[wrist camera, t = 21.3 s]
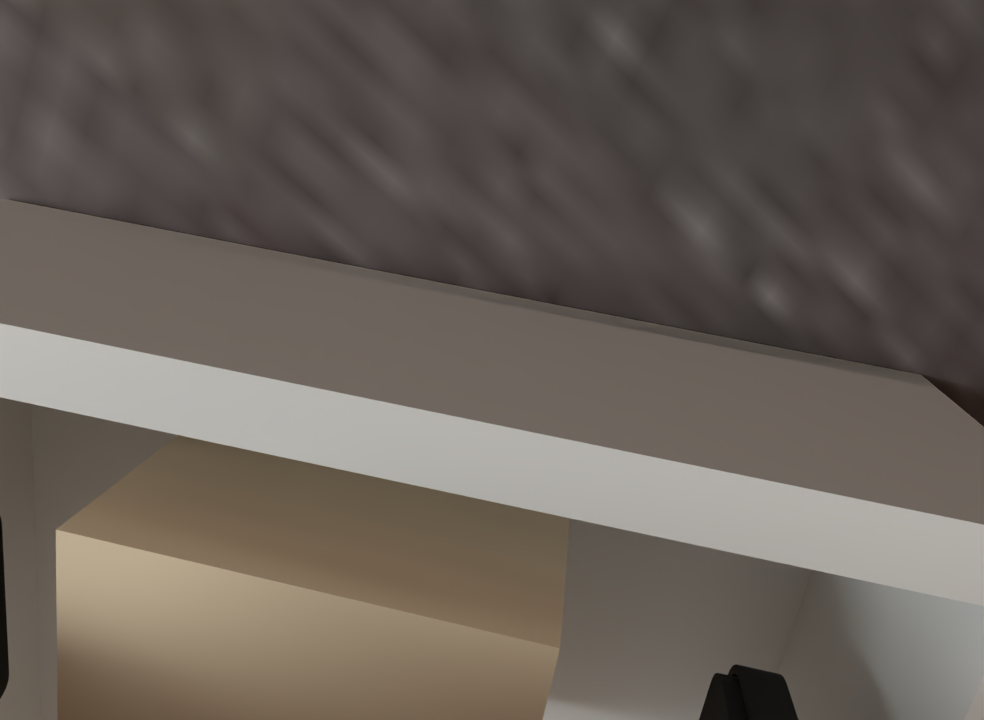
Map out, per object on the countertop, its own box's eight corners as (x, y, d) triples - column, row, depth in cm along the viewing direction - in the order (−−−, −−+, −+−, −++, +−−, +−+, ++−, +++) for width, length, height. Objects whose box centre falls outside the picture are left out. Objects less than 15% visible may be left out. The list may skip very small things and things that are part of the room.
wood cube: (264, 368, 12) (55, 529, 8) (576, 435, 12) (559, 648, 7) (242, 628, 14) (59, 893, 9) (517, 694, 14) (471, 1006, 9)
